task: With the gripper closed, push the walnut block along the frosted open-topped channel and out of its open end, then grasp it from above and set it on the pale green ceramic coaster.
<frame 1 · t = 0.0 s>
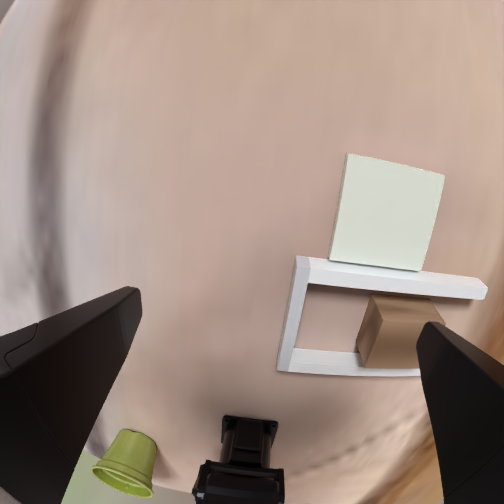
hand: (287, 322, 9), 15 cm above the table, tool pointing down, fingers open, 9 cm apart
block: (392, 319, 26), on the table
coaster: (386, 214, 22), on the table
plant pot: (138, 438, 38), on the table
channel: (388, 320, 25), on the table
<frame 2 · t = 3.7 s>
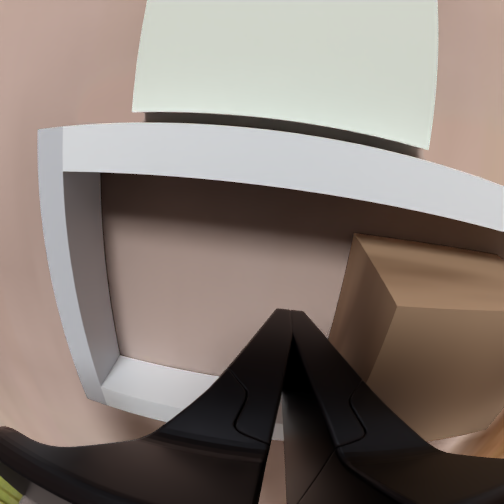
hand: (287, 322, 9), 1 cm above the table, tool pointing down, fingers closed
block: (415, 309, 10), on the table, touching gripper
plant pot: (28, 453, 22), on the table
channel: (348, 307, 10), on the table
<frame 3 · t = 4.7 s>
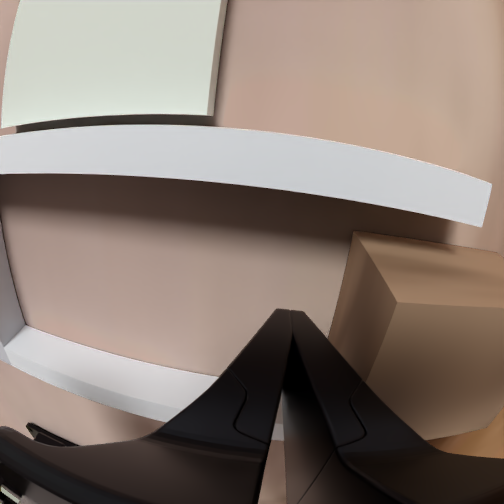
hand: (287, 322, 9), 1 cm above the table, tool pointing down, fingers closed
block: (415, 307, 10), on the table, touching gripper
coaster: (107, 5, 6), on the table
channel: (173, 285, 10), on the table
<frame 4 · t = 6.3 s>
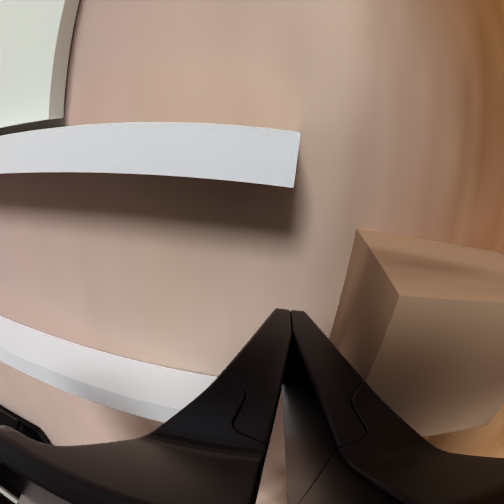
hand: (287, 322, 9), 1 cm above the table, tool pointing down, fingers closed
block: (416, 304, 10), on the table
coaster: (6, 37, 7), on the table
channel: (54, 263, 10), on the table
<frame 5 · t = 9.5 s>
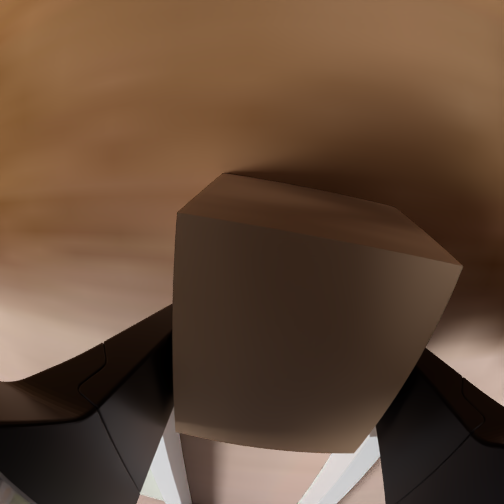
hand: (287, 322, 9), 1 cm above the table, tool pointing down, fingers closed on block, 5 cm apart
block: (291, 283, 9), on the table, touching gripper
coaster: (114, 461, 16), on the table
channel: (249, 476, 15), on the table
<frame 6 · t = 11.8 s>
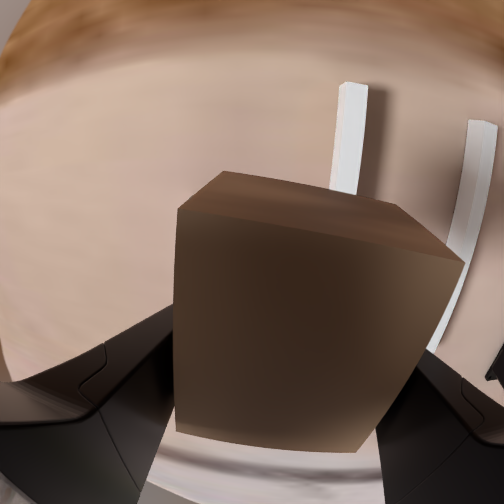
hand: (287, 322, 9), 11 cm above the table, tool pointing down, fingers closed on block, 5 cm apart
block: (292, 282, 9), point 10 cm above the table, touching gripper
channel: (399, 231, 19), on the table
when the fingers open (3 cm above the table, at t = 13.9 s): block drops 1 cm, resting on coaster.
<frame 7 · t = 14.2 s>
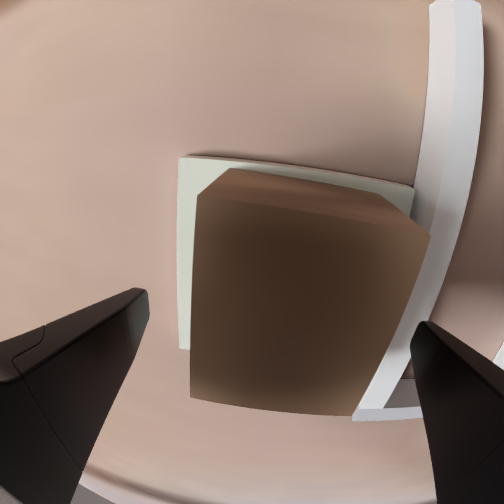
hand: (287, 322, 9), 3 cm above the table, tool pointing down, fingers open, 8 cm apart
block: (290, 264, 11), point 1 cm above the table, touching coaster
coaster: (285, 271, 12), on the table
channel: (500, 232, 10), on the table
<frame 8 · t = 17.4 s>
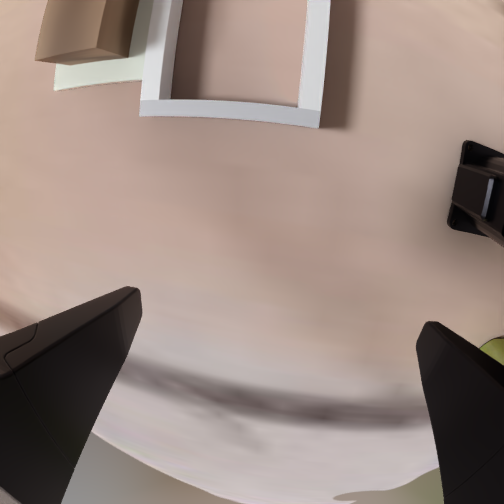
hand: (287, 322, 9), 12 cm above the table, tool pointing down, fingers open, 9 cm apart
block: (104, 23, 15), point 1 cm above the table, touching coaster
coaster: (107, 34, 16), on the table
plant pot: (486, 357, 24), on the table
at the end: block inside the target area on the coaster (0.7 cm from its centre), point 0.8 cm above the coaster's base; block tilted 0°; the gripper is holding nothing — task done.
